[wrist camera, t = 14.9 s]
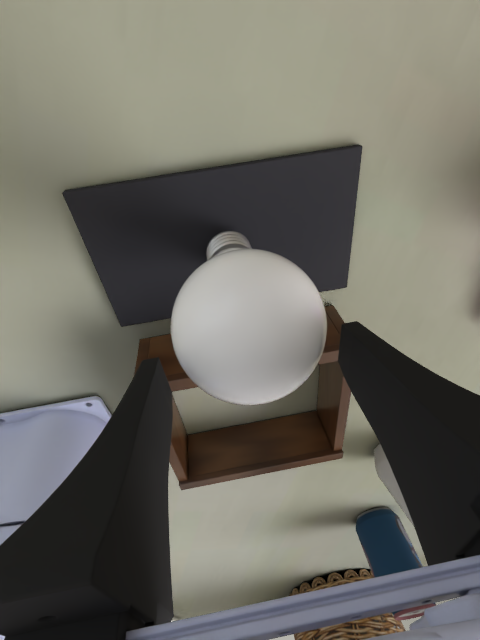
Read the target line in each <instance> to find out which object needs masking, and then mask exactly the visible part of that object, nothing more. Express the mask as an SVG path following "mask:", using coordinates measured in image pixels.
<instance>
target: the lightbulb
mask: <svg viewBox="0 0 480 640" xmlns="http://www.w3.org/2000/svg"><path fill="white" fill-rule="evenodd" d="M206 256H207V261H206V262H204V263H203V264H202V265H200V266H199V267H198V268H197V269H196V270H195V271H194V272H193V273H192V274H191V275H190V276H189V277H188V278H187V280H186V281H185V282H184V284H183V286H182V287H181V289H180V291H179V293H178V295H177V297H176V300H175V303H174V306H173V310H172V315H171V339H172V344H173V348H174V352H175V354H176V357H177V359H178V361H179V363H180V365H181V367H182V369H183V370H184V372H185V373H186V374H187V376H188V377H189V378H190V379H191V380H192V381H193V382H194V383H195V384H196V385H197V386H198V387H199V388H200V389H202V390H203V391H204V392H206V393H207V394H209V395H211V396H213V397H215V398H217V399H219V400H222V401H225V402H228V403H232V404H238V405H260V404H266V403H270V402H273V401H276V400H278V399H281V398H283V397H285V396H287V395H289V394H290V393H292V392H293V391H295V390H296V389H297V388H299V387H300V386H301V385H302V384H303V383H304V382H305V381H306V380H307V379H308V378H309V377H310V375H311V374H312V373H313V371H314V370H315V368H316V366H317V365H318V363H319V361H320V359H321V356H322V354H323V351H324V347H325V343H326V337H327V317H326V311H325V307H324V304H323V301H322V298H321V296H320V293H319V291H318V290H317V288H316V286H315V285H314V283H313V282H312V280H311V279H310V278H309V277H308V275H307V274H306V273H305V272H304V271H303V270H302V269H301V268H300V267H298V266H297V265H296V264H294V263H293V262H292V261H290V260H288V259H286V258H285V257H283V256H281V255H278V254H276V253H273V252H269V251H265V250H260V249H252V248H251V246H250V243H249V241H248V240H247V238H246V237H245V236H244V235H242V234H241V233H238V232H235V231H224V232H221V233H219V234H217V235H215V236H214V237H213V238H212V239H211V240H210V242H209V244H208V246H207V250H206Z"/></svg>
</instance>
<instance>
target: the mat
mask: <svg viewBox="0 0 480 640" xmlns="http://www.w3.org/2000/svg"><path fill="white" fill-rule="evenodd" d="M361 154H362V146H360V145H353V146H346V147H340V148H333V149H327V150H321V151H314V152H308V153H301V154H295V155H289V156H282V157H276V158H269V159H263V160H256V161H250V162H244V163H237V164H231V165H224V166H218V167H212V168H205V169H199V170H192V171H186V172H179V173H173V174H167V175H160V176H154V177H147V178H141V179H135V180H128V181H122V182H115V183H109V184H102V185H96V186H90V187H83V188H77V189H70V190H65V191H64V192H63V193H62V194H63V196H64V198H65V201H66V203H67V205H68V207H69V210H70V212H71V214H72V216H73V219H74V221H75V223H76V225H77V228H78V230H79V232H80V234H81V237H82V239H83V241H84V243H85V246H86V248H87V250H88V253H89V255H90V257H91V259H92V262H93V264H94V266H95V268H96V271H97V273H98V275H99V277H100V280H101V282H102V284H103V286H104V289H105V291H106V293H107V295H108V298H109V300H110V302H111V305H112V307H113V309H114V311H115V314H116V316H117V318H118V320H119V323H120V325H121V327H123V326H128V325H134V324H140V323H146V322H151V321H157V320H163V319H168V318H171V315H172V310H173V306H174V303H175V300H176V297H177V295H178V293H179V291H180V289H181V287H182V286H183V284H184V282H185V281H186V280H187V278H188V277H189V276H190V275H191V274H192V273H193V272H194V271H195V270H196V269H197V268H198V267H199V266H200V265H202V264H203V263H204V262H206V261H207V256H206V250H207V246H208V244H209V242H210V240H211V239H212V238H213V237H214V236H215V235H217V234H219V233H221V232H224V231H235V232H238V233H241V234H242V235H244V236H245V237H246V238H247V240H248V241H249V243H250V246H251V248H252V249H260V250H265V251H269V252H273V253H276V254H278V255H281V256H283V257H285V258H286V259H288V260H290V261H292V262H293V263H294V264H296V265H297V266H298V267H300V268H301V269H302V270H303V271H304V272H305V273H306V274H307V275H308V277H309V278H310V279H311V280H312V282H313V283H314V285H315V286H316V288H317V290H318V291H319V292H323V291H328V290H334V289H340V288H345V287H347V280H348V271H349V262H350V253H351V244H352V235H353V226H354V217H355V208H356V199H357V190H358V181H359V172H360V163H361Z"/></svg>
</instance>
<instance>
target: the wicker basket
mask: <svg viewBox="0 0 480 640" xmlns="http://www.w3.org/2000/svg"><path fill="white" fill-rule="evenodd" d="M347 574H348V575H347ZM364 575H365V576H366V577H364ZM332 576H333V577H332ZM337 576H338V577H337ZM350 576H352V577H354V578H350ZM331 577H332V578H331ZM371 578H374V576H373V574H372V571H371V570H370V573H369V572H368V571H367V570H366V569H360V571H359V576H358V574H357V573H356V572H355V571H353V570H347V571H346V572H345V573H344V579H343V578H342V576H341V575H340V574H338V573H336V572H333V573H331V574H330V575H329V576H328V580H327V582H328V583H326V581H325V580H324V579H323V578H322V577H316V578H315V579H314V580H313V582H312V588H311V586H310V585H309V584H308V583H306V582H304V583H302V584H301V586H300V592H299V590H298V589H297V588H294V589H293V591H292V593H290V595H289V596H293V595H297V594H302V593H306V592H311V591H316V590H320V589H325V588H329V587H334V586H339V585H343V584H348V583H352V582H357V581H362V580H366V579H371ZM330 579H331V580H330ZM334 579H337V581H333V580H334ZM340 579H341V580H340ZM320 580H321V581H320ZM318 584H321V585H319V586H317V585H318ZM305 589H307V590H306V591H304V590H305ZM404 631H405V629H404V627H403V625H402V622H401V620H395V619H394V615H393V614H392V613H391V612H390V613H386V614H381V615H377V616H372V617H368V618H363V619H359V620H354V621H350V622H345V623H341V624H336V625H332V626H327V627H323V628H318V629H314V630H309V631H305V632H300V633H296V634H294V637H295V640H363V639H368V638H372V637H377V636H382V635H387V634H393V633H398V632H404Z"/></svg>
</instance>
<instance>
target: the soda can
mask: <svg viewBox="0 0 480 640" xmlns="http://www.w3.org/2000/svg"><path fill="white" fill-rule="evenodd" d="M356 532H357V534H358V537H359V540H360V542H361V545H362V547H363V550H364V553H365V555H366V558H367V560H368V563H369V566H370V568H371V571H372V574H373V576H374V578H375V577H380V576H385V575H389V574H394V573H399V572H403V571H408V570H412V569H417V568H422V567H423V566H422V564H421V562H420V560H419V558H418V556H417V554H416V552H415V549H414V547H413V545H412V543H411V541H410V539H409V537H408V535H407V533H406V531H405V529H404V527H403V525H402V523H401V521H400V519H399V517H398V516H397V515H396V514H395V513H394V512H393V511H392V510H390V509H389V508H386V507H379V508H374V509H371V510H368V511H366V512H364V513H362V514H360V515H359V516H358V517H357V521H356ZM433 606H436V604H435V603H431V604H426V605H422V606H417V607H413V608H408V609H404V610H399V611H395V612H391V613H392V614H393V615H394V619H395V620H406V619H411V618H416V617H419V616H423V615H424V611H425V609H427V608H430V607H433Z"/></svg>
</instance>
